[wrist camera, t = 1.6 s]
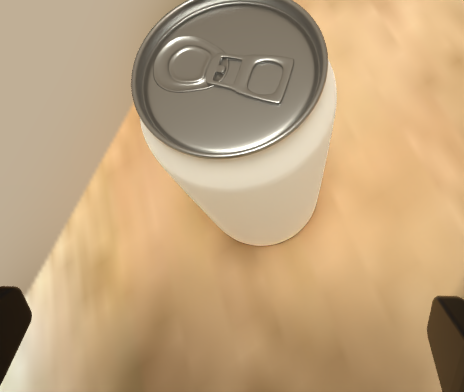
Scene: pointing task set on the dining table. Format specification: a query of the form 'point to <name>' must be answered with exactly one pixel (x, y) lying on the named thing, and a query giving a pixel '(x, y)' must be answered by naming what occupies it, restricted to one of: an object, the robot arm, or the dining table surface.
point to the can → (239, 111)
